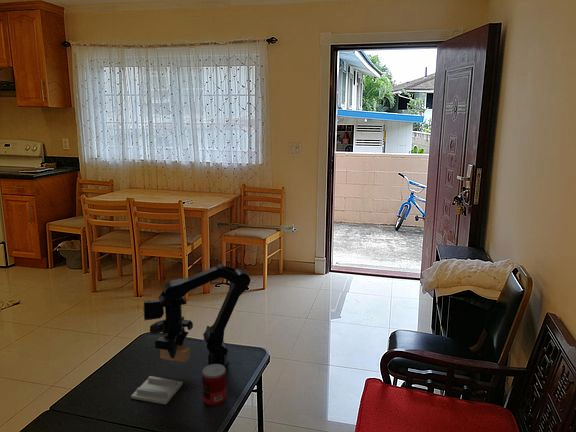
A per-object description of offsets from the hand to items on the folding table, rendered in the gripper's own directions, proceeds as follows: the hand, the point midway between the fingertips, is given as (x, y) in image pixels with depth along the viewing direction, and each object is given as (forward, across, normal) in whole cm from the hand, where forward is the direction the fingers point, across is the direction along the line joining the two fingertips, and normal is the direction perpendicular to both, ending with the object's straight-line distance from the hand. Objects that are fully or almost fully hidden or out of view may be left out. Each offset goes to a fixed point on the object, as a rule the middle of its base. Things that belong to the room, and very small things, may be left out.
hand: (175, 355), depth 168 cm
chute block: (+1, 0, 0) cm, 1 cm away
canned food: (+8, +11, +20) cm, 24 cm away
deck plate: (+8, +12, -1) cm, 14 cm away
